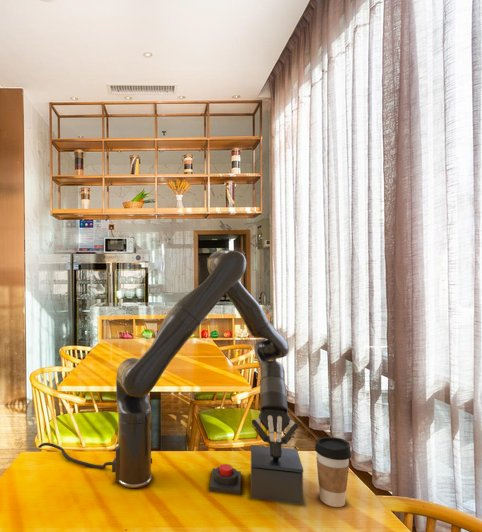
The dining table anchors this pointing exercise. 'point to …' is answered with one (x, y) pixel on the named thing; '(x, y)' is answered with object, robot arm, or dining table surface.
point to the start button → (226, 470)
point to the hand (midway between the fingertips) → (276, 458)
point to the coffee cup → (332, 469)
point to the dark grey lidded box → (277, 485)
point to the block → (226, 482)
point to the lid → (264, 459)
